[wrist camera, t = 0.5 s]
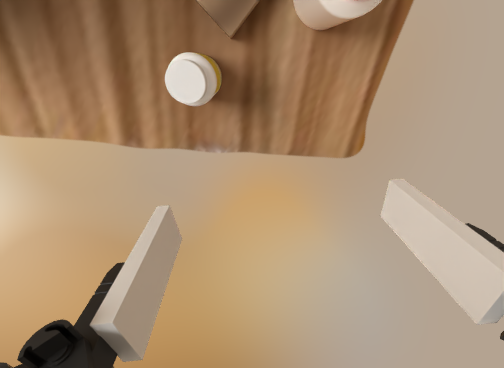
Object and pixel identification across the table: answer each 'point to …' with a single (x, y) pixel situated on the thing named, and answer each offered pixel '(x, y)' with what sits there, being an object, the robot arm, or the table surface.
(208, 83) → the supplement bottle
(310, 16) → the pill bottle
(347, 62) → the table surface
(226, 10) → the jig
